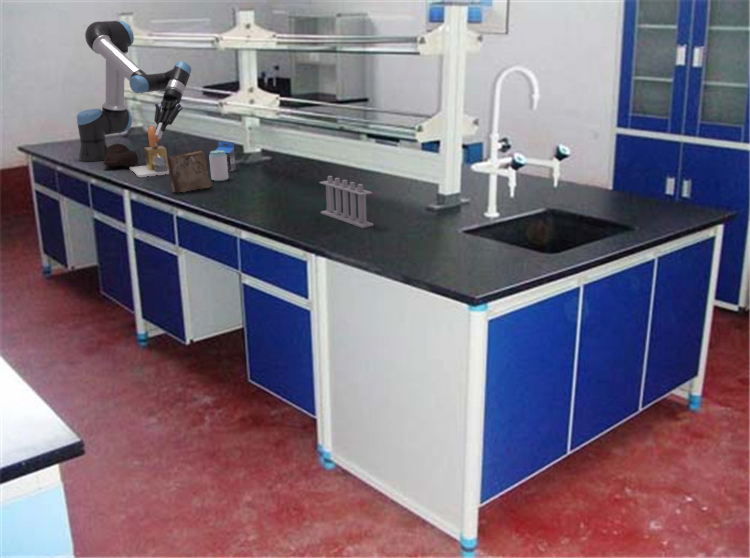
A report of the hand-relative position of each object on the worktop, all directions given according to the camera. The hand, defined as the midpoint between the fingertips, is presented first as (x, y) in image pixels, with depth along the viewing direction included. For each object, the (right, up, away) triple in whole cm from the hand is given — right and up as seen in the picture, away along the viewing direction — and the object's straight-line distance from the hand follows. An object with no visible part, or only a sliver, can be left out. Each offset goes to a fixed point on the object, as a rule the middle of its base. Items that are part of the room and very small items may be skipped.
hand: (157, 136), depth 335 cm
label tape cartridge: (+28, -13, +8) cm, 32 cm away
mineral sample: (+22, -26, -28) cm, 44 cm away
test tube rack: (+84, -42, -77) cm, 122 cm away
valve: (-3, -13, +13) cm, 18 cm away
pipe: (-23, -9, +22) cm, 33 cm away
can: (+29, -20, -11) cm, 37 cm away
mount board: (-3, -13, +13) cm, 18 cm away
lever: (-2, -2, +3) cm, 4 cm away
